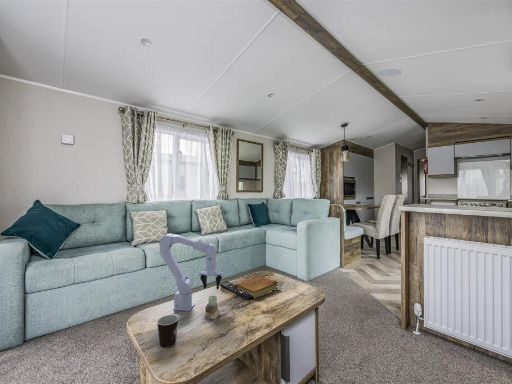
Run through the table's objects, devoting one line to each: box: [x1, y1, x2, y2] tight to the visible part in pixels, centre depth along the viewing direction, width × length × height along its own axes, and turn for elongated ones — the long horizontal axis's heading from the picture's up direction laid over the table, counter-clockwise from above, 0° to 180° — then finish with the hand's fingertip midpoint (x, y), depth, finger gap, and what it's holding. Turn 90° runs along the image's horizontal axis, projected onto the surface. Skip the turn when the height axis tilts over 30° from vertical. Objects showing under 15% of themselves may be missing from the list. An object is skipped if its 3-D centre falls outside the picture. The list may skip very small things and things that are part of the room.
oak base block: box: [204, 307, 220, 320], centre depth 127 cm, size 6×6×3 cm
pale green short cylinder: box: [207, 295, 218, 307], centre depth 127 cm, size 4×4×4 cm
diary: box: [234, 275, 279, 300], centre depth 161 cm, size 23×19×6 cm
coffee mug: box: [156, 314, 179, 348], centre depth 105 cm, size 12×9×10 cm
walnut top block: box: [204, 302, 219, 313], centre depth 127 cm, size 5×5×3 cm
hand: (211, 288), depth 138 cm, fingers open, 7 cm apart
